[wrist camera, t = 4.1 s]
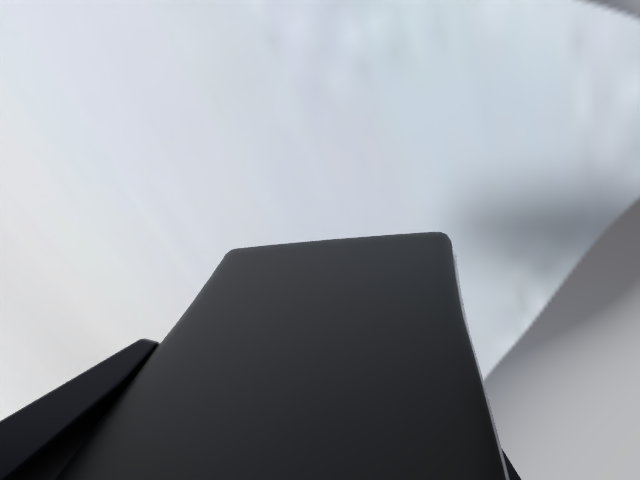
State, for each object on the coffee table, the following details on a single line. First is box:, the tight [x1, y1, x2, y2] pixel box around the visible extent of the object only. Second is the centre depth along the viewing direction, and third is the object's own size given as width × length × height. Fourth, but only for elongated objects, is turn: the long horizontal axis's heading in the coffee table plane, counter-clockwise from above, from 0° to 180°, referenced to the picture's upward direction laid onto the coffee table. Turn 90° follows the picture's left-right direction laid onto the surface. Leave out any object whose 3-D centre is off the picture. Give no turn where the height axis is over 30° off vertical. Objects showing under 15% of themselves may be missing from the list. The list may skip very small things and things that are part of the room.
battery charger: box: [55, 232, 510, 480], centre depth 8 cm, size 7×4×11 cm, turn 101°
